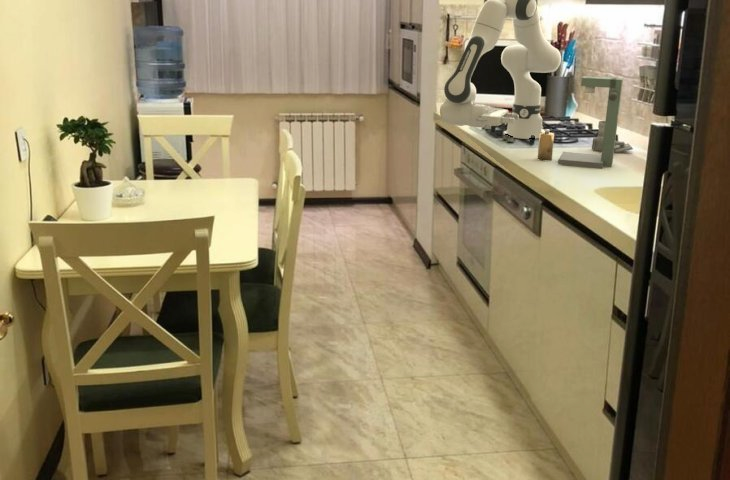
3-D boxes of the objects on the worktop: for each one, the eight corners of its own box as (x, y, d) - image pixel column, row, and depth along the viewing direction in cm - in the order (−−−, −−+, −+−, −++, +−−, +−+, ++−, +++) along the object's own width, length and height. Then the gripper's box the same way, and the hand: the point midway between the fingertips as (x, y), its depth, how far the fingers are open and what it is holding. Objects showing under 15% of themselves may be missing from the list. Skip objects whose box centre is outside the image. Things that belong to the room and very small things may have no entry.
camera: (594, 119, 306) (632, 121, 304) (590, 147, 310) (628, 149, 308) (597, 123, 298) (636, 125, 296) (593, 152, 302) (632, 154, 300)
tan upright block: (538, 157, 293) (541, 127, 289) (552, 158, 291) (555, 128, 287) (536, 159, 288) (539, 130, 285) (550, 161, 287) (553, 131, 283)
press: (562, 156, 294) (571, 73, 283) (613, 161, 288) (623, 76, 277) (555, 167, 277) (564, 80, 266) (609, 172, 270) (620, 83, 260)
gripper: (475, 111, 283) (511, 114, 279) (486, 104, 301) (521, 107, 297) (474, 128, 285) (510, 131, 281) (485, 120, 303) (519, 123, 299)
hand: (516, 118), depth 289 cm, fingers open, 8 cm apart
